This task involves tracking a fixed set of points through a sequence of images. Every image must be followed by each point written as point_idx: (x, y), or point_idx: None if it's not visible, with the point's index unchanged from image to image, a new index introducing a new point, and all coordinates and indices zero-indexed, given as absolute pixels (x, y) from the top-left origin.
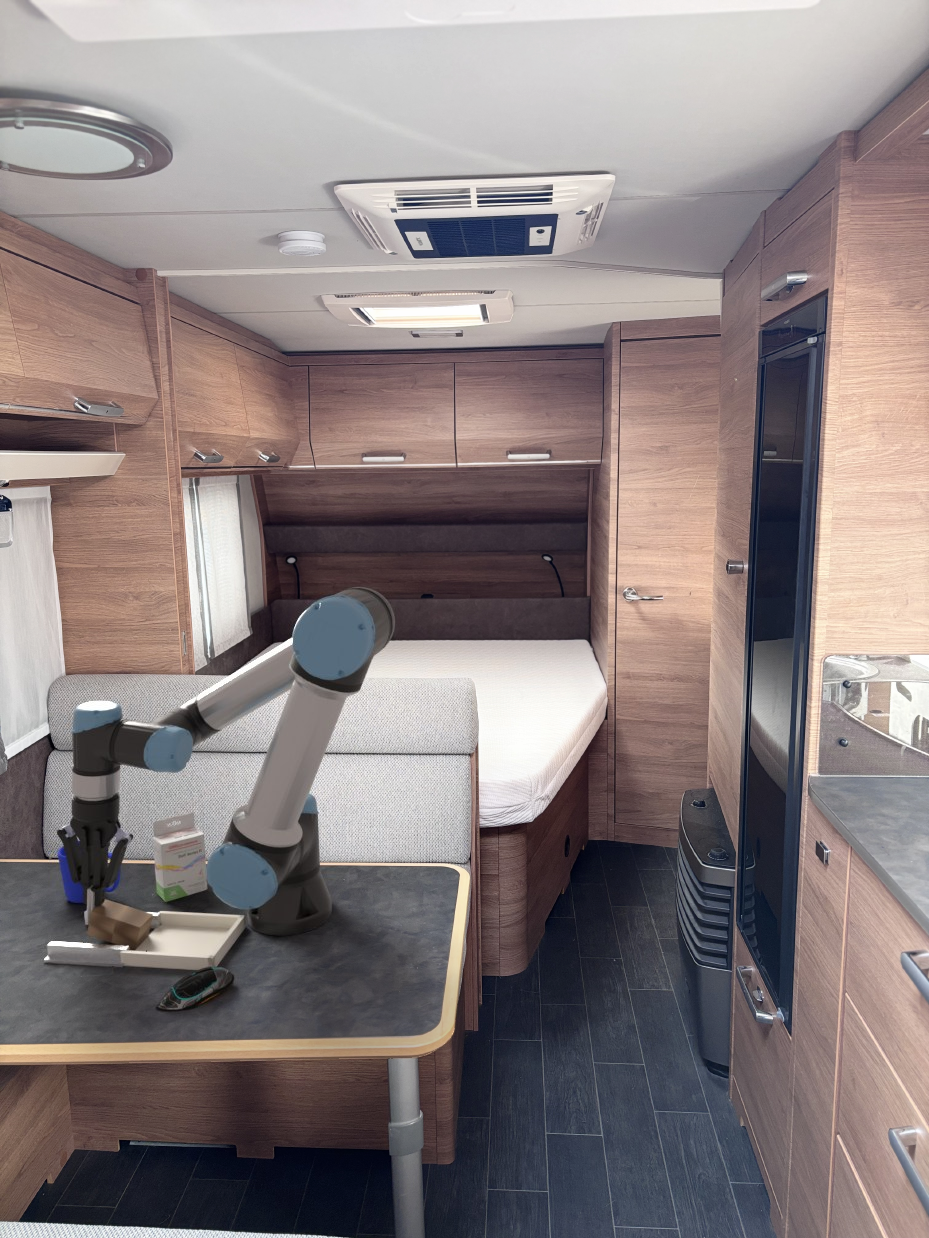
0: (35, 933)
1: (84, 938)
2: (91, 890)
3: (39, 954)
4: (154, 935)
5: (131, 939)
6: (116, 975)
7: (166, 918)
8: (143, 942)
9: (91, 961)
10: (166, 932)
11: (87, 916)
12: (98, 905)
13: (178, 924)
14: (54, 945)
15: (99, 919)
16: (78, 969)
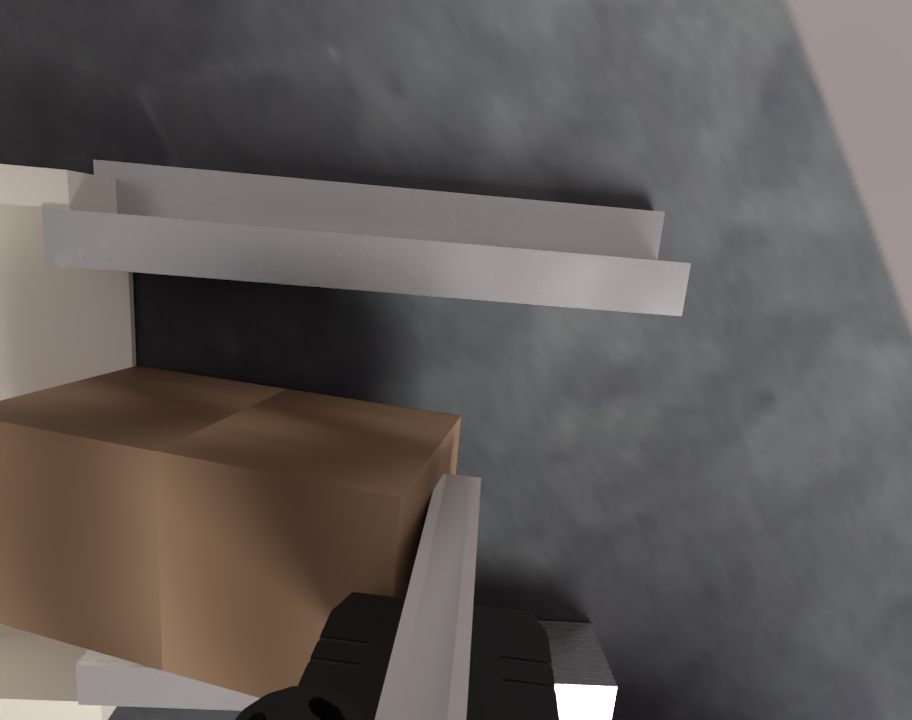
0: (841, 528)
1: (529, 488)
2: (354, 710)
3: (725, 307)
4: None
5: (118, 388)
6: (99, 64)
7: (63, 671)
8: None
9: (331, 191)
10: None
11: (473, 509)
12: (363, 595)
13: (9, 641)
14: (632, 259)
15: (326, 456)
16: (396, 136)
